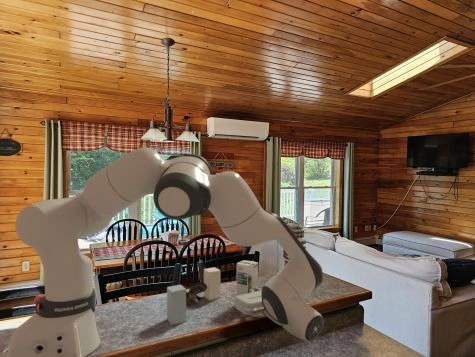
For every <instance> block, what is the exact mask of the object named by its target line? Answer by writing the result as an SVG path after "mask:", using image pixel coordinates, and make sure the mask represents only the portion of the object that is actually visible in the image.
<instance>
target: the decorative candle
mask: <svg viewBox="0 0 475 357" xmlns="http://www.w3.org/2000/svg"><path fill="white" fill-rule="evenodd" d="M287 225H288V227H289V228H290V229H291V230H292V232H293V233H294V234H295V236H296V237H297V238H298V240H299V241H300V242H301V244H302V245H303V246H304V248H305V249H306V250H307V247H306V246H305V244H307V241H306V237H305V230H306V228H304V227H303V225H302V224H299V223H289V224H287ZM282 253H283V254H282V257H283V260H284V265H283V267H284V266H285V265H286V264H287V263H288V261H289V256H288V254H287V253H286V252H285V251H284V249H283V250H282Z"/></svg>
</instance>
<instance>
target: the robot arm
mask: <svg viewBox="0 0 475 357" xmlns="http://www.w3.org/2000/svg"><path fill="white" fill-rule="evenodd" d="M252 190H253V189H251V188H250V186H249V185H248V183H247V182H246V181H245V180H244V179H243V177H242V176H241V175H240V174H239V173H238V172H236V171H233V170H230V171H229V170H227V171H221V172H219V173H217V174H212V168H211V165H210V164H209V162H208V161H207V159H205V157H203V156H201V155H199V154H194V153H187V154H172V155H171V154H170V156H169V157H167V158H164V157H163V156H162V155H161V154H160V153H159V152H157V150H155V149H153V148H150V147H145V146H144V147H143V146H142V147H140V148H136V149H134V150H132V151H130V152H128V153H126V154H123V155H122V156H120V157H118V158H116V159H115V160H113V161H112V162H111V163H109V164H107V165H106V166H105V167H103V168H102V169H100V170H99V171H98V172H96V173H95V174H94V175H92V176H90V177H89V178H87V180H86V181H85V182H84V185H83V191H82V192H81V193H78V194H76V195H73V196H70V197H64V198H63V197H61V198H53V199H45V200H44V199H43V200H41V201H38V202H34V203H32V204H29V205H27V206H24V207H23V208H22V209H21V210H19V212H18V214H17V216H16V219H15V225H14V226H15V227H14V228H15V232H16V235H17V236H18V239H19V240H20V241H21V242H22V243H23V244H24V245H26V246H27V247H30V248H31V249H33V250H34V251H35V253H36V254H37V255H38V257H39V259H40V261H41V264H42V268H43V275H44V276H43V277H44V293H45V294H44V295H42V294H37V295H36V296H35V297H34V300H33V303H34V304H35V313H34V314H33V315H31V317H29V318H28V319H26V321H24V322H23V323H22V324H21V325H19V326H18V327H17V328H16V329H15V330H14V332H13V333H12V336H11V338H10V340H9V344H8V346H7V347H6V348H4V350H3V351H2V352H1V353H0V357H86V356H87V355H89V354H91V353H92V352H94V351H95V350H97V348H98V347H99V346H100V344H101V338H100V335H99V331H98V329H97V328H98V327H97V322H96V317H95V315H96V314H95V311H96V305H97V304H96V301H97V300H96V298H97V296H96V291H95V288H94V264H93V260H92V259H91V258H90V257H89V256H87V255H86V254H83V253H82V251H81V249H80V246H79V239H83V238H86V237H89V236H90V237H91V236H93V235H95V234H97V233H99V232H101V231H102V230H105V229H106V228H107V227H108V226H109V225H110V224H111V222H112V219H113V218H114V217H115V216H117V215H118V214H120V213H121V212H123V211H124V210H126V209H127V208H129V207H131V206H133V205H134V204H135V203H137V202H138V201H140V200H142V199H143V198H144V197H146V196H148V195H150V194H153V197H152V198H153V202H154V203H153V204H154V207H155V208H156V210H157V211H158V213H159V214H161V215H162V216H163V217H165V218H167V219H170V220H175V221H176V220H177V221H179V220H180V221H181V220H185V219H188V218H191V217H194V216H201V215H204V214H206V212H208V210H209V211H210V212H211V213H212V215H213V216H214V218H215V219H216V221H217V223H218V225H219V227H220V229H221V230H222V232H223V233H224V235H225V237H226V238H227V239H228V240H229V241H230V242H231V243H233V244H234V245H237V246H241V247H256V246H260V245H261V244H265V243H268V242H269V241H270V242H271V241H274V240H276V242H277V243H278V245H279V246H280V247H281V248H282V249H283V250H284V251H285V252H286V253H287V254H288V256H289V261H288V263H287V264H286V265H285V264H284V265H285V266H284V265H283V267H282V268H280V270H279V271H277V273H275V274H274V275H273V276H272V277H271V278H270V279H269V280H268V281H267V282H265V283H264V285H263V286H262V287H261V288H260V287H259V286H258V287H257V288H253V289H249V293H247V294H242V295H238V296H235V297H234V308H235V309H236V310H238V311H239V312H240V313H243V314H244V315H249V316H252V315H257V314H260V313H263V314H264V315H265V317H267V318H268V319H269V320H270V321H272V322H273V323H275V324H276V325H278V326H279V327H280V326H281V327H282V329H284V330H285V331H287V332H288V333H289V334H290V335H292V336H293V337H296V338H297V339H300V340H301V341H304V342H312V341H314V340H315V339H316V338H317V337H318V336H319V335H320V334H321V333H322V330H323V328H324V323H325V320H324V317H323V316H322V314H321V313H320V312H318V310H316V309H315V308H313V307H312V306H311V305H309V304H307V303H305V302H304V300H305V299H306V298H308V296H309V295H310V294H311V293H312V292H313V291H315V290H316V289H317V288H318V287H319V286H320V285H322V283H323V282H324V281H323V279H324V274H323V268H322V266H321V265H320V263H319V262H318V261H317V260H316V258H315V257H313V256H312V254H310V253H309V251H308V250H307V248H306V249H305V248H304V246H305V245H304V246H303V245H302V244H301V242H300V241H299V240H298V238H297V237H296V236H295V234H294V233H293V232H292V230H291V229H290V228H289V227H288V224H287V223H286V221H284V220H283V218H282V217H280V216H279V215H278V214H276V213H274V212H272V211H271V212H267V211H266V210H264V208H263V207H262V206H261V204H260V202H259V200H258V199H257V197H256V195H255V194H254V191H252Z"/></svg>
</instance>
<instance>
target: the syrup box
mask: <svg viewBox="0 0 475 357" xmlns="http://www.w3.org/2000/svg"><path fill="white" fill-rule="evenodd" d="M257 287H258V288H259V262H258V261H257V262H256V261H250V260H245V259H244V260H241V261H239V262H237V263H236V296H238V295H242V294H247V293H249V289H253V288H257ZM236 296H235V297H236Z"/></svg>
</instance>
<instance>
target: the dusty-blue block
mask: <svg viewBox="0 0 475 357" xmlns="http://www.w3.org/2000/svg"><path fill="white" fill-rule="evenodd" d="M186 292H187V289H186V288H185V287H184V286H183V285H182V284H177V285H172V286H171V285H170V286H166V319H167V321H168V322H169V324H170V325H171V326H174V325H178V324H181V323H185V322H187V306H186Z"/></svg>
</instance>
